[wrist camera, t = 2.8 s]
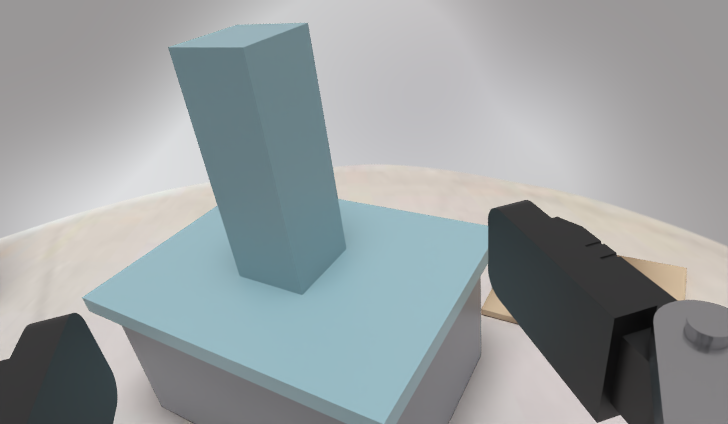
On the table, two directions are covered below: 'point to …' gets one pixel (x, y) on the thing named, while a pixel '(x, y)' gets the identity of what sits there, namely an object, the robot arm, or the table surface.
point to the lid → (293, 246)
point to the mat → (659, 273)
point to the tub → (285, 416)
